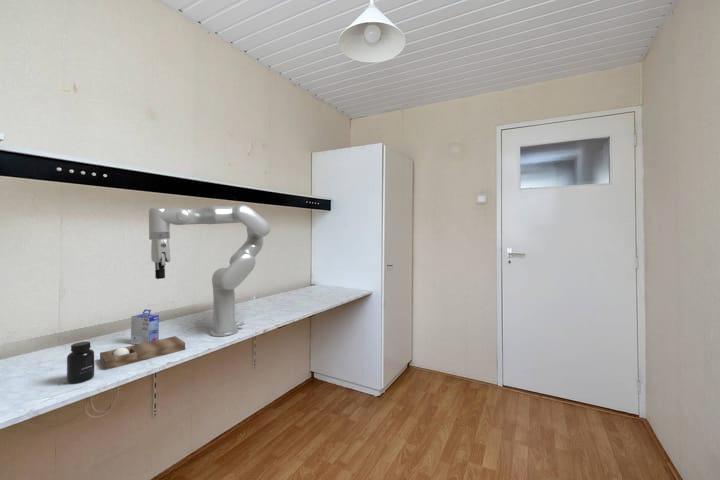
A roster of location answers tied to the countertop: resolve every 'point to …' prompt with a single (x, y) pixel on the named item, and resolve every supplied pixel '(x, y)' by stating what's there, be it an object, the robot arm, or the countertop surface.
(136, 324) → the ink cartridge box
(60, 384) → the countertop surface
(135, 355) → the board
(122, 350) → the ball
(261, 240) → the robot arm
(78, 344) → the supplement bottle
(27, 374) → the countertop surface
